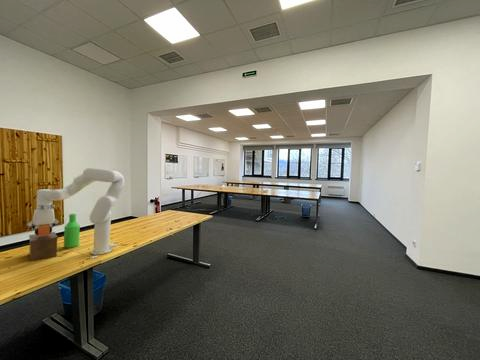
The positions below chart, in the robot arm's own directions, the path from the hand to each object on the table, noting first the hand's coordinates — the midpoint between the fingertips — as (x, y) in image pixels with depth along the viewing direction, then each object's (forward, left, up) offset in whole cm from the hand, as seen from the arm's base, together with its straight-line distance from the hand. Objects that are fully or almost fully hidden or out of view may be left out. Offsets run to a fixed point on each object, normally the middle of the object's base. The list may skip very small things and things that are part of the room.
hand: (43, 233), depth 132 cm
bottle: (-16, -8, -15) cm, 23 cm away
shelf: (0, 0, -14) cm, 14 cm away
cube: (0, 0, 0) cm, 0 cm away
